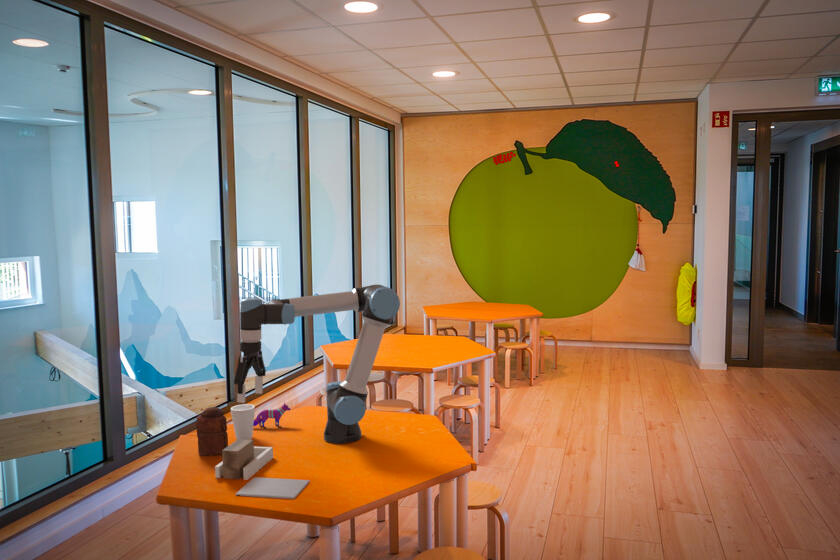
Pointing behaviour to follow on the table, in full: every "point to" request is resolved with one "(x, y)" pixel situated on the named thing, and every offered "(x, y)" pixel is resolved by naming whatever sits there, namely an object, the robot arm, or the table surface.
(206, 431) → the wooden figurine
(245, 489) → the mat
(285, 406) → the toy dog
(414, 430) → the table surface
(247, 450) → the walnut block
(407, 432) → the table surface
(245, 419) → the foam cup
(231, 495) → the table surface
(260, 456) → the bay
